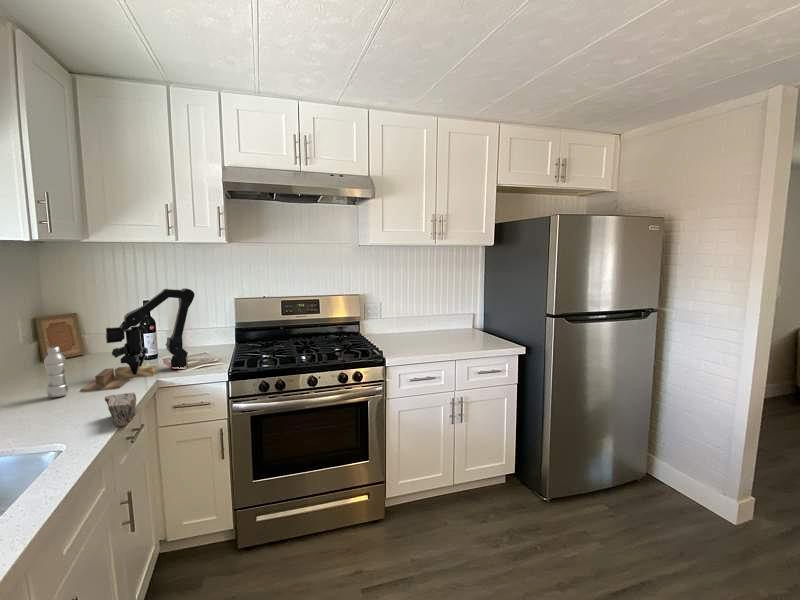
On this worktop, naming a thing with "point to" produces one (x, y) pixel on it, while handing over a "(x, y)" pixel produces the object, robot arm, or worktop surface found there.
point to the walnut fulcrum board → (110, 386)
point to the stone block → (122, 408)
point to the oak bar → (140, 372)
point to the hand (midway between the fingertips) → (136, 373)
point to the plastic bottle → (55, 373)
